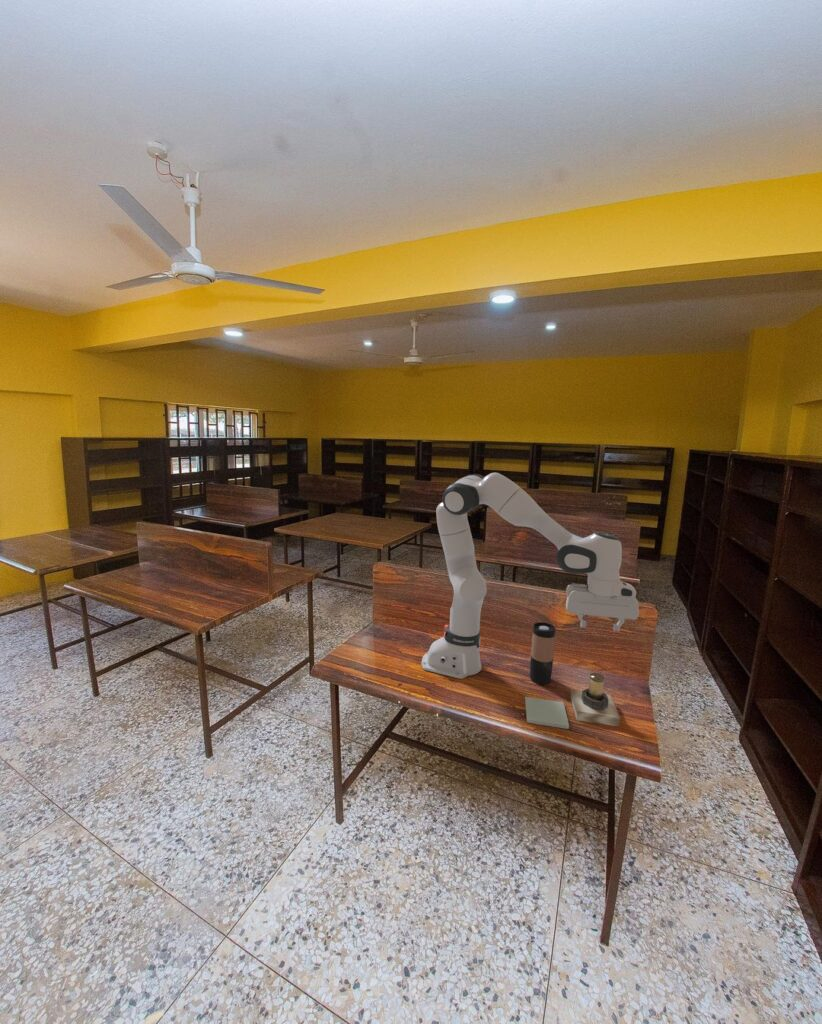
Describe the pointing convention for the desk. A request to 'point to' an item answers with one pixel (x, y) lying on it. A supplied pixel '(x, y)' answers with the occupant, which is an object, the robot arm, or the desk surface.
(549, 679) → the travel mug
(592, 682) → the brass peg
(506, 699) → the desk surface
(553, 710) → the sage pad
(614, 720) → the beige base with ring
